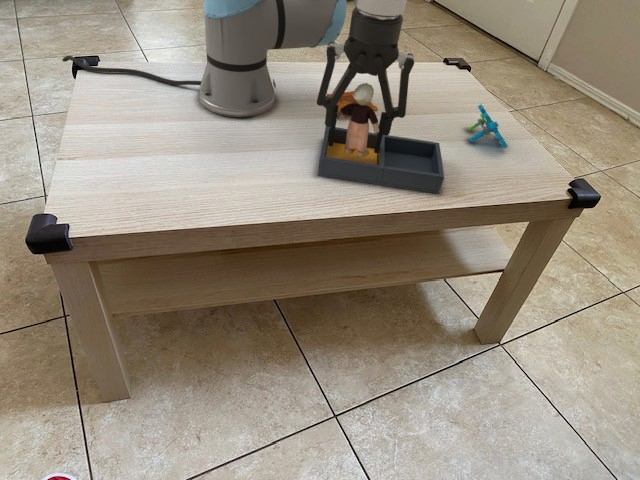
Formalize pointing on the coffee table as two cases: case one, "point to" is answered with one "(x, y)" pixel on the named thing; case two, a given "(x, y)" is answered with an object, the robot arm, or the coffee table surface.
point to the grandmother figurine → (359, 120)
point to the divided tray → (384, 162)
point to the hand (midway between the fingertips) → (353, 145)
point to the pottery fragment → (350, 101)
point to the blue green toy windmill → (486, 127)
